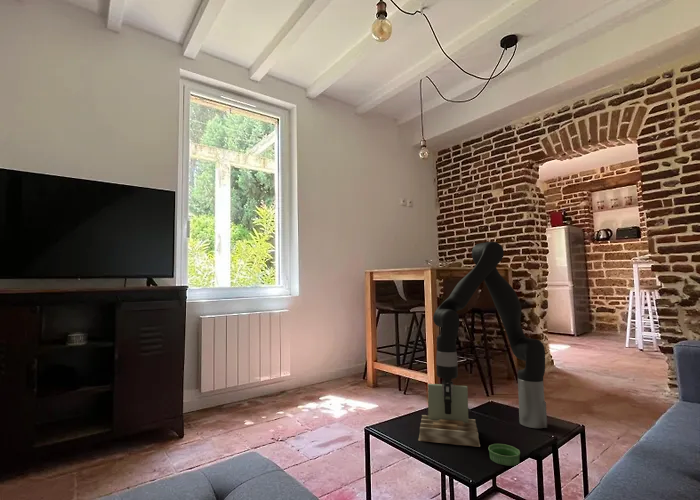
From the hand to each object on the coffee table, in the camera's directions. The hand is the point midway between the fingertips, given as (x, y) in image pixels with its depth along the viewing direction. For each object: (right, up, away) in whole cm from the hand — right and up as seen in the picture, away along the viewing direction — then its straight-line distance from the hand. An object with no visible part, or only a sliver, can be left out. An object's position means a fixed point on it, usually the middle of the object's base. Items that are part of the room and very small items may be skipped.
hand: (448, 410), depth 136 cm
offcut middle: (0, -7, -5) cm, 8 cm away
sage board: (0, -7, -1) cm, 7 cm away
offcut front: (-3, -6, -9) cm, 11 cm away
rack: (-1, -8, -5) cm, 10 cm away
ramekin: (+11, -7, -23) cm, 26 cm away
